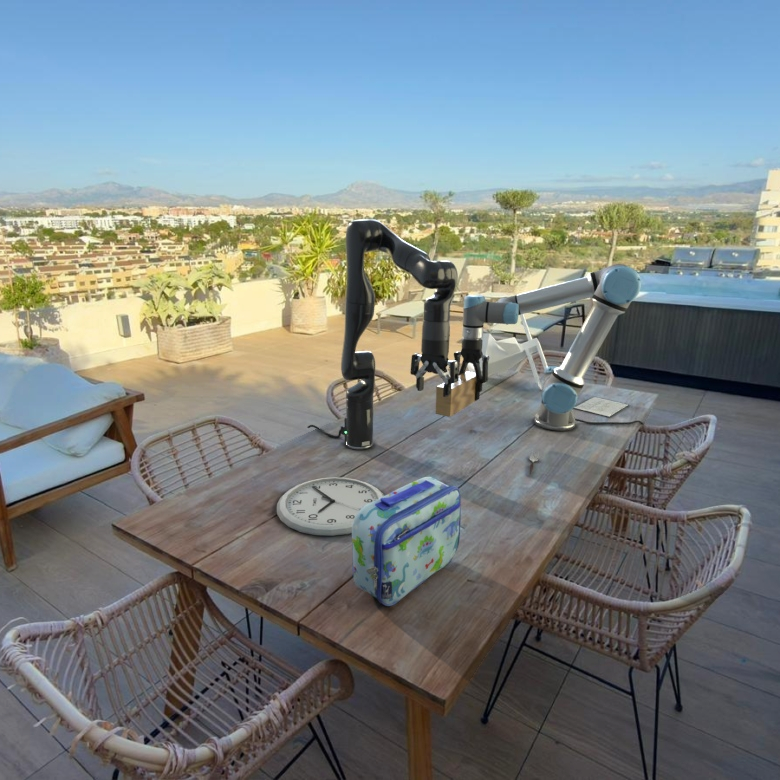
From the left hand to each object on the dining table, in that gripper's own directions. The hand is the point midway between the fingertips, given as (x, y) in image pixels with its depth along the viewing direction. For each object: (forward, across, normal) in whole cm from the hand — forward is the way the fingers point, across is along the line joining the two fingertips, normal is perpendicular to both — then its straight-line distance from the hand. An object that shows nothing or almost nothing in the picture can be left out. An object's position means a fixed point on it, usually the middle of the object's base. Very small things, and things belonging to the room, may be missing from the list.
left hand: (433, 393), depth 147 cm
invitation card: (+28, +20, +107) cm, 112 cm away
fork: (+28, +19, +32) cm, 47 cm away
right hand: (+17, -15, +50) cm, 55 cm away
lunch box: (+28, +20, -40) cm, 53 cm away
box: (+18, -14, +41) cm, 47 cm away
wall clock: (+28, -14, -27) cm, 42 cm away
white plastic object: (+28, -28, +113) cm, 120 cm away
